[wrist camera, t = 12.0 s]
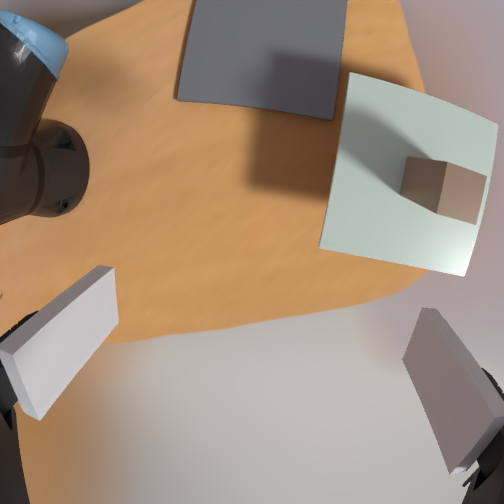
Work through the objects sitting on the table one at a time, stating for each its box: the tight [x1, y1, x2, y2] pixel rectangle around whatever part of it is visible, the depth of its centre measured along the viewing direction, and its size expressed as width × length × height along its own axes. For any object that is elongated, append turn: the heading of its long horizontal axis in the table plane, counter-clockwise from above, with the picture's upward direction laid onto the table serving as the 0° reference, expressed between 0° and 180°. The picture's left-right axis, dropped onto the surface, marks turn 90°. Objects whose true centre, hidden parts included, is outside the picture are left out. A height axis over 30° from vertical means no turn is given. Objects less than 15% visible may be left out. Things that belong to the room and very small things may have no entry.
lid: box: [319, 72, 498, 276], centre depth 24 cm, size 18×18×10 cm
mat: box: [177, 0, 347, 121], centre depth 34 cm, size 20×20×1 cm
